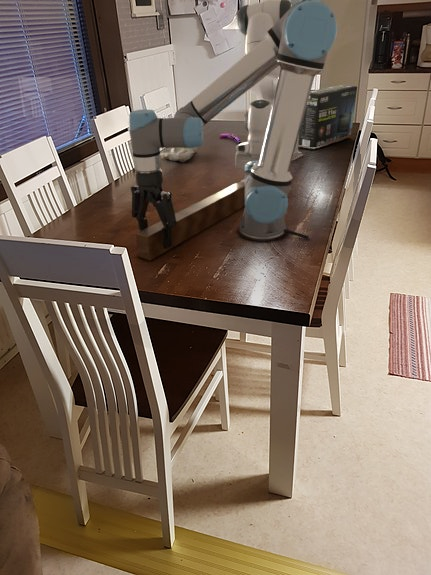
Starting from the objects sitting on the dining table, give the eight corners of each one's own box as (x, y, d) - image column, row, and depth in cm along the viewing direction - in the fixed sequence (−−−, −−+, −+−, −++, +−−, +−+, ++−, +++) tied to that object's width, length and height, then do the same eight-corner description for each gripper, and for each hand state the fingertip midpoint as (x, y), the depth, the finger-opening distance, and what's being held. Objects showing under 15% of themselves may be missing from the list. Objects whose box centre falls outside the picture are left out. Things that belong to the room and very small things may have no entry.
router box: (314, 151, 231) (318, 94, 217) (296, 148, 237) (299, 92, 224) (352, 138, 251) (358, 85, 238) (335, 135, 258) (340, 83, 245)
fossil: (184, 156, 217) (163, 136, 220) (174, 174, 223) (154, 154, 227) (205, 153, 231) (186, 134, 234) (195, 171, 237) (176, 152, 240)
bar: (150, 260, 135) (147, 237, 131) (138, 256, 138) (135, 233, 134) (271, 190, 184) (272, 171, 180) (261, 188, 186) (262, 170, 182)
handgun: (220, 136, 265) (220, 133, 264) (233, 135, 266) (233, 132, 265) (227, 145, 248) (227, 141, 247) (241, 143, 249) (241, 140, 248)
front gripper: (186, 171, 124) (191, 246, 136) (130, 161, 135) (140, 231, 147) (168, 179, 119) (175, 256, 131) (111, 167, 130) (123, 239, 142)
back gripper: (288, 148, 168) (286, 185, 175) (241, 142, 179) (241, 176, 186) (279, 152, 164) (278, 189, 171) (232, 145, 174) (233, 181, 182)
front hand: (156, 243), depth 139 cm, fingers open, 8 cm apart
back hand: (259, 183), depth 179 cm, fingers open, 5 cm apart
